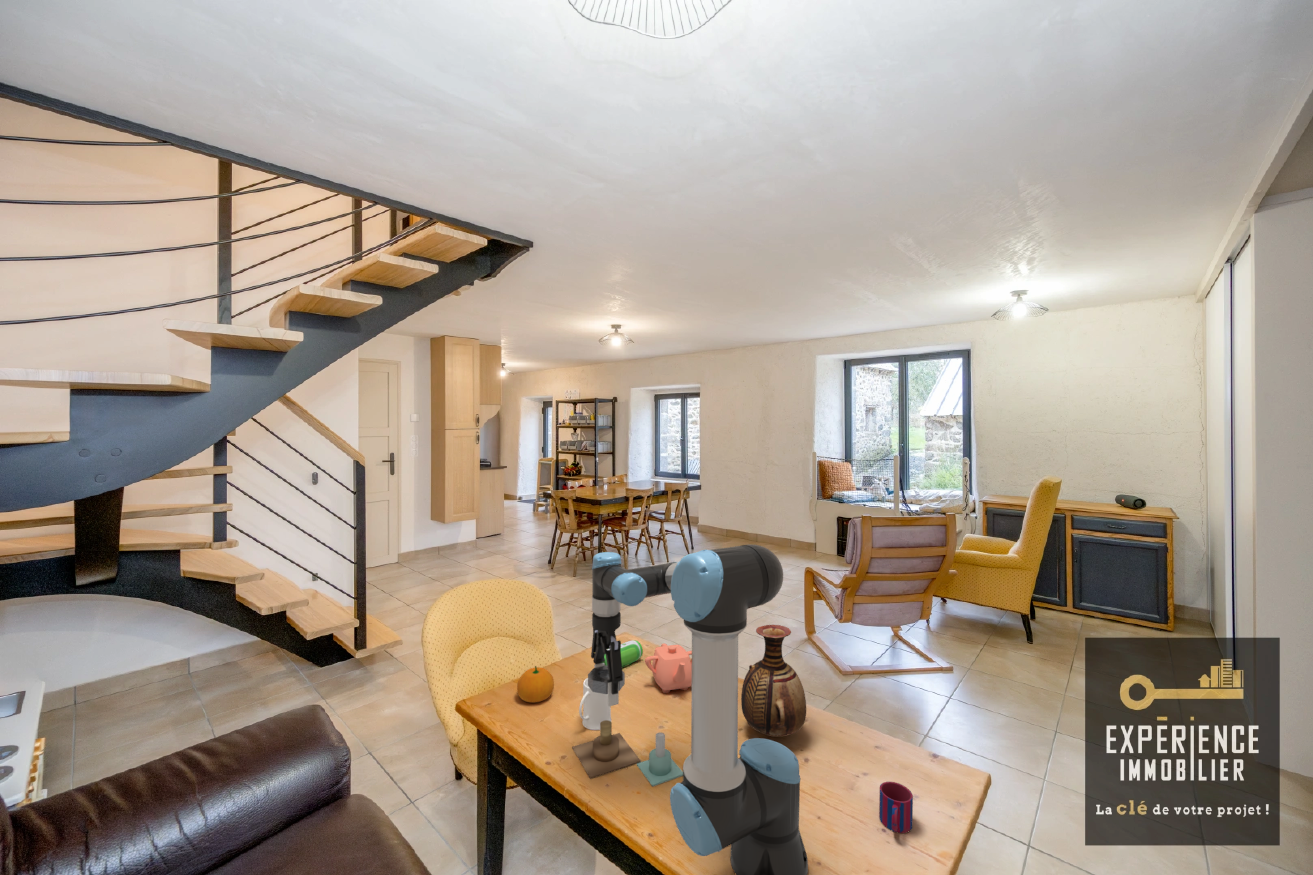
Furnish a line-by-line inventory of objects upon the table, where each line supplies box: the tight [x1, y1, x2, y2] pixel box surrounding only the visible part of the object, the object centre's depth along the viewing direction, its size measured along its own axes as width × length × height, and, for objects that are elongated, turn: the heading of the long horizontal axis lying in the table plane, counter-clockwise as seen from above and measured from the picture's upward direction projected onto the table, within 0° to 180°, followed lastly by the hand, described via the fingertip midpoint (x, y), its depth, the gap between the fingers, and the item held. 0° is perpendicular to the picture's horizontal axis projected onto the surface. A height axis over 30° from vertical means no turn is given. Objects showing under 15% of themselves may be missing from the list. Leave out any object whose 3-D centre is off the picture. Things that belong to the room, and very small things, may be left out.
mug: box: [578, 677, 612, 731], centre depth 152 cm, size 12×8×12 cm
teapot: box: [644, 642, 692, 694], centre depth 175 cm, size 17×16×13 cm
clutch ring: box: [587, 665, 626, 694], centre depth 138 cm, size 9×9×3 cm
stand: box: [636, 732, 683, 788], centre depth 132 cm, size 9×9×9 cm
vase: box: [740, 624, 807, 737], centre depth 148 cm, size 21×18×30 cm
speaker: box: [601, 640, 644, 669], centre depth 190 cm, size 18×7×8 cm, turn 134°
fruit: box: [516, 665, 555, 704], centre depth 167 cm, size 12×12×10 cm
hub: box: [572, 720, 642, 780], centre depth 138 cm, size 14×14×8 cm
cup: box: [878, 781, 914, 834], centre depth 114 cm, size 7×10×7 cm
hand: (606, 695), depth 138 cm, fingers closed on clutch ring, 9 cm apart
